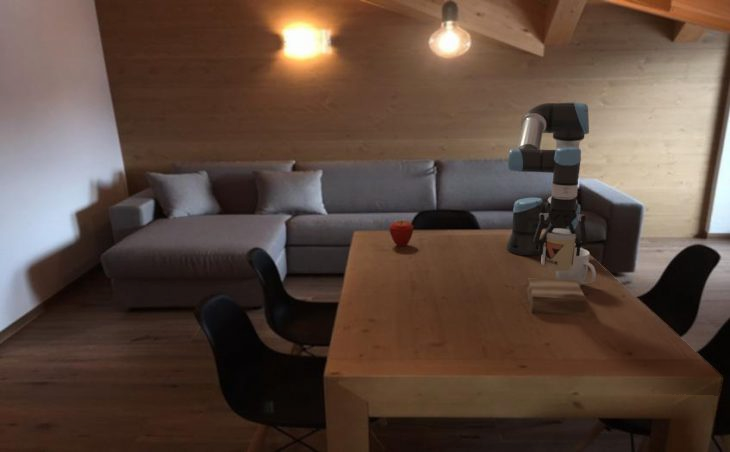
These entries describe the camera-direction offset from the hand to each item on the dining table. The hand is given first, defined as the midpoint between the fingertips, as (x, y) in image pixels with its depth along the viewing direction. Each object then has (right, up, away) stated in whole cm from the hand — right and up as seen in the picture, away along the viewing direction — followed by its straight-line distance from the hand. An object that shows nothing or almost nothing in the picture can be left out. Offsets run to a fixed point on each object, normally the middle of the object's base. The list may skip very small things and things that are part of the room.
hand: (557, 264), depth 163 cm
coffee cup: (0, -1, 0) cm, 1 cm away
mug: (+13, -10, +19) cm, 25 cm away
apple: (-46, +3, +68) cm, 83 cm away
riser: (0, -14, +4) cm, 14 cm away
